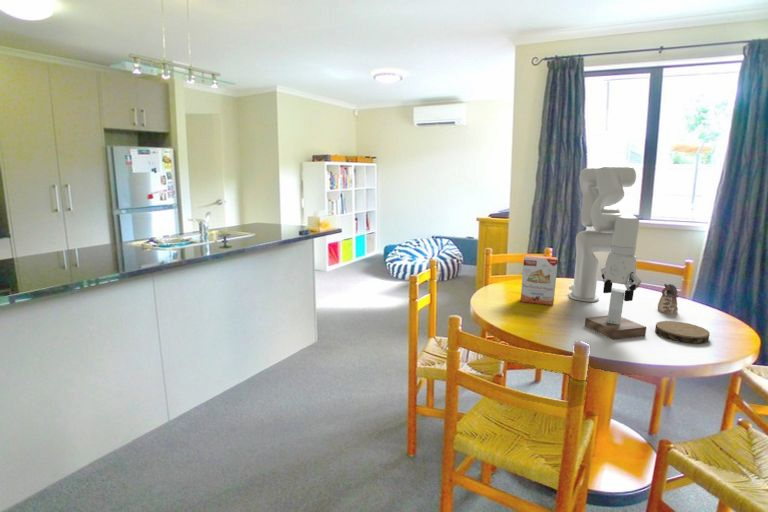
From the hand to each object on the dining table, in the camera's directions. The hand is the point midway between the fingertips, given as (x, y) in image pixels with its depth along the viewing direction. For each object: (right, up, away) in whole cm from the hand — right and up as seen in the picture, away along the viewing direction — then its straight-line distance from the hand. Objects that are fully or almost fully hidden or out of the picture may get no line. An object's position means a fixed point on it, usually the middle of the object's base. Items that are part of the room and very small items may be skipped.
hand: (617, 296), depth 156 cm
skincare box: (-1, -10, +1) cm, 10 cm away
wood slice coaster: (+22, -14, -2) cm, 26 cm away
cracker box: (-16, -6, +36) cm, 40 cm away
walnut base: (0, -13, +2) cm, 14 cm away
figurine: (+35, -9, +25) cm, 44 cm away
